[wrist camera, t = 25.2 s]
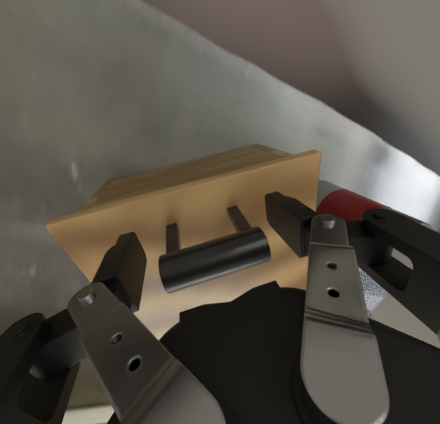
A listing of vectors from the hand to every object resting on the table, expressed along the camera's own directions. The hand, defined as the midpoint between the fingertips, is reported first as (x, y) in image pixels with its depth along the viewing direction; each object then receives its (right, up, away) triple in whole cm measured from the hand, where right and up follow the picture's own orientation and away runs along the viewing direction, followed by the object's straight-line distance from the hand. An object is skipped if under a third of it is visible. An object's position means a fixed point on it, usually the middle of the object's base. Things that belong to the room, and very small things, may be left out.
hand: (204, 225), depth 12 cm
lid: (+1, -4, +4) cm, 6 cm away
